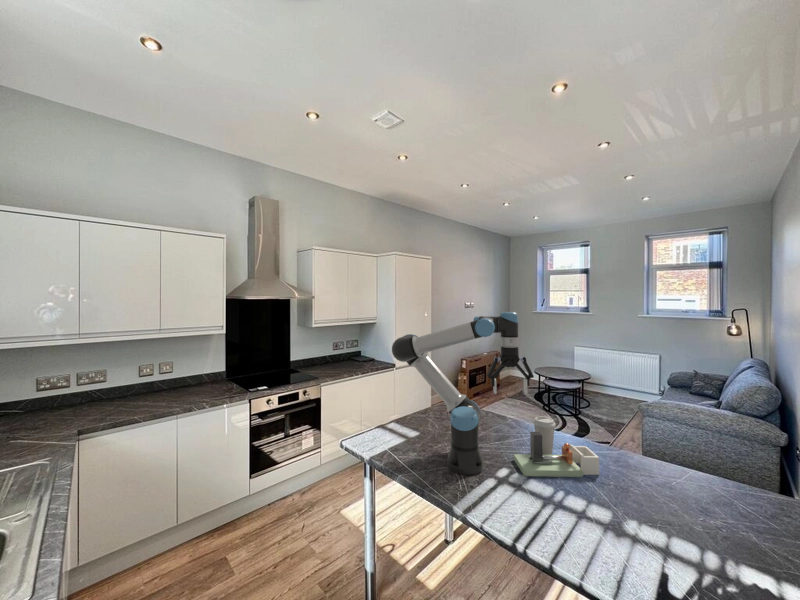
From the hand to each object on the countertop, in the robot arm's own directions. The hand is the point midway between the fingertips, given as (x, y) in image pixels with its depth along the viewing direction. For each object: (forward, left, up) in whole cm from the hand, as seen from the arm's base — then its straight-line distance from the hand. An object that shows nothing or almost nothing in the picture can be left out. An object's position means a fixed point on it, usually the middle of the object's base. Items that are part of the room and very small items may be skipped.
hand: (510, 393), depth 141 cm
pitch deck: (+12, -9, -29) cm, 32 cm away
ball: (+28, -9, -27) cm, 40 cm away
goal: (+27, -9, -29) cm, 40 cm away
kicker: (+14, -9, -26) cm, 30 cm away
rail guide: (+9, -9, -26) cm, 29 cm away
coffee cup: (+17, +5, -29) cm, 34 cm away
